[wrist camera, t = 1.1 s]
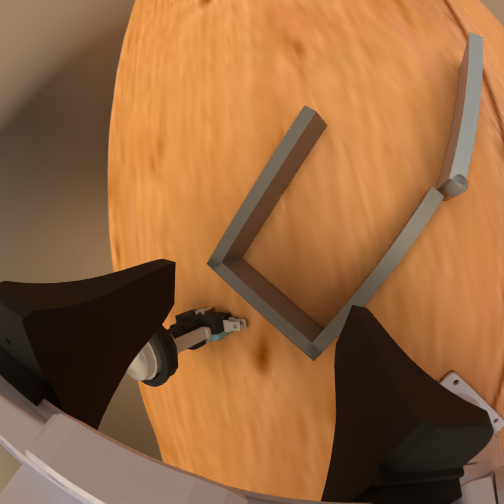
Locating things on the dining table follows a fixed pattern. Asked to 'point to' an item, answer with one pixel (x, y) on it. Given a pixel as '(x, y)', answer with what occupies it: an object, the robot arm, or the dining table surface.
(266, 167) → the duct bay
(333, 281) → the dining table surface
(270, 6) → the dining table surface
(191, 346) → the push button
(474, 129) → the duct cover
